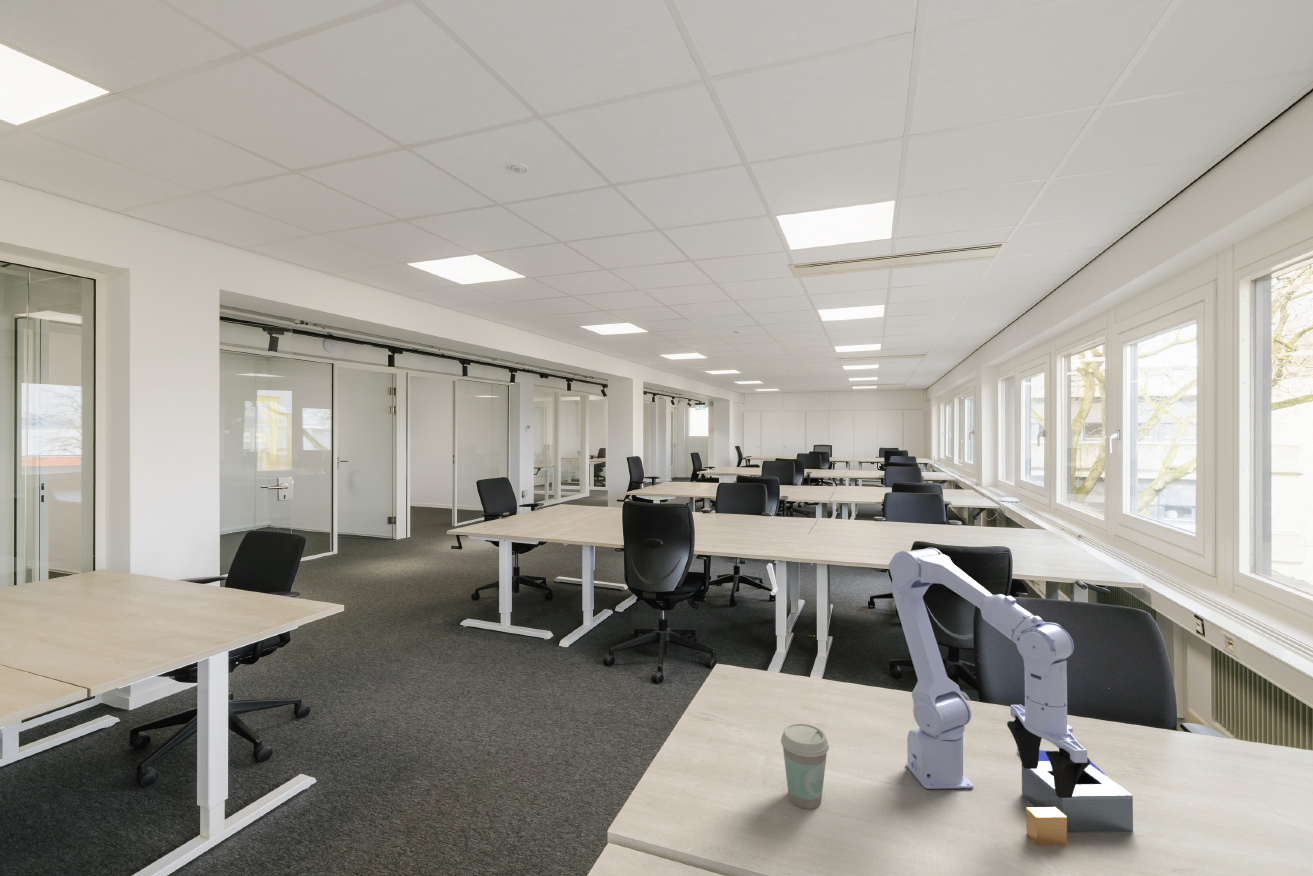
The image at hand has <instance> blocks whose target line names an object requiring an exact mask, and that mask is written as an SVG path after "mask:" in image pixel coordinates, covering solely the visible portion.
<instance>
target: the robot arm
mask: <svg viewBox="0 0 1313 876" xmlns="http://www.w3.org/2000/svg"><path fill="white" fill-rule="evenodd" d="M888 569H889V573H890V576H891V580H892V581H891V593H892V596H893V599H894V604H895V607H896V610H897V614H898V617H899V621H900V623H901V627H902V630H903V634H904V636H905V637H904V638H905V641H906V643H907V648H908V651H909V653H910V657H911V660H912V661H911V662H912V664H913V668H914V671H915V675H916V678H917V682H916V684H915V687H914V689H913V690H912V692H911V698H912V700H913V701H912V702H913V708H912V712H913V718H914V720H915V722H916V724H917V726H918V727H917V728H915V729H911V730H909V731H908V733H907V739H906V740H907V742H906V743H907V761H906V762H905V766H906V767H907V768H908V770H909V771H910V772H911V773H912V775H914V777H915V778H916V779H917V781H919V783H920V784H921V785H922V786H923V788H925V789H926V790H927V789H929V790H931V789H932V790H935V789H938V790H939V789H941V790H942V789H973V788H974V784H973V782H971V781H970V780H969V779H968V778H967V777H966V776H965V775H964V732H965V726H966V725H968V724H969V723H970V721H971V719H972V710H971V707H970V705H969V703H968V702H967V700H966V699H965V697H964V696H963V694H962V692H961V689H960V686H959V684H957V683H956V682H955V681H953V680H952V679H950V677H948V674H947V671H946V669H945V665H944V662H943V659H942V655H941V652H940V650H939V646H938V641H937V639H936V636H935V633H934V631H933V630H934V629H933V627H932V623H931V620H930V617H929V613H928V610H927V607H926V603H925V601H924V595H925V594H926V592H927V590H928V589H929V587H930V586H932V585H933V584H940V585H943V586H945V587H946V588H948V589H950V590H952V592H955V593H956V594H957V595H959V596H960V597H961V598H964V599H965V600H966V601H968V602H969V603H971V604H973V606H975V607H977V608H978V609H980V613H981V617H982V619H983V620H984V621H985V622H986V623H988V624H989V625H990V626H992V627H993V628H994V629H996V630H997V631H999V633H1001V634H1003V635H1004V636H1005V637H1006V638H1007V639H1009V640H1011V641H1012V642H1013V643H1014V644H1016V648H1017V651H1018V652H1019V654H1020V656H1021V657H1022V659H1023V667H1024V705H1022V704H1010V716H1011V717H1012V718H1014V719H1013V720H1009V721H1007V722H1006V726H1007V728H1008V729H1009V731H1010V732H1011V735H1012V737H1013V739H1014V741H1015V744H1016V747H1017V748H1018V751H1019V754H1018V755H1019V757H1020V762H1021V766H1022V765H1023V767H1024V768H1025V769H1037V766H1038V762H1039V750H1040V749H1041V748H1040V747H1041V742H1042V739H1044V740H1045V741H1047V742H1050V743H1051V744H1052V745H1054V746H1056V747H1057V748H1058V750H1045V751H1046V755H1047V757H1048V759H1049V761H1050V764H1051V767H1052V771H1053V776H1054V786H1055V792H1056V795H1057V796H1058V797H1059V798H1072V795H1073V792H1074V789H1075V786H1076V783H1077V781H1078V779H1079V777H1080V775H1081V774H1082V772H1083V771H1084V770H1085V769H1086V768H1087V767H1088V766H1089V765H1090V761H1091V760H1090V758H1089V757H1088V750H1087V749H1086V748H1085V747H1083V746H1082V745H1081V744H1080V743H1079V741H1078V740H1077V739H1076V738H1075V736H1074V735H1073V734H1072V733H1073V732H1074V728H1073V727H1072V726H1071V725H1069V724H1068V677H1067V676H1068V674H1067V673H1068V672H1067V671H1068V670H1067V669H1068V668H1067V667H1068V665H1067V663H1068V661H1067V658H1069V657H1070V656H1071V655H1073V652H1074V650H1075V645H1074V644H1075V643H1074V640H1073V638H1072V636H1071V635H1070V633H1069V632H1068V631H1067V630H1065V629H1064V628H1063V627H1062V625H1060V624H1059V623H1056V622H1051V621H1049V622H1048V621H1047V622H1046V621H1043V620H1044V619H1043V618H1041V617H1040V616H1039V615H1035V614H1033V613H1031V612H1030V611H1028V610H1027V609H1025V608H1023V606H1021V605H1019V604H1018V603H1017V599H1016V598H1014V597H1013V596H1012V595H1005V594H1002V593H1001V594H1000V593H998V594H992V593H991V592H990V591H989V590H987V589H986V588H985V587H984V586H982V585H981V584H980V583H978V582H977V581H976V580H974V579H973V578H972V577H971V576H969V575H968V574H967V573H966V572H964V571H963V570H962V569H961V568H960V567H958V566H957V565H955V563H953V561H952V560H951V557H950V556H948V555H946V554H943V552H941V550H939V549H938V548H936V547H935V548H934V547H926V548H923V549H914V550H902V551H898V552H896V553H895V554H894V555H893V557H892V558H891V560H890V561H889V563H888Z"/></svg>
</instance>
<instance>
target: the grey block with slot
mask: <svg viewBox="0 0 1313 876" xmlns="http://www.w3.org/2000/svg"><path fill="white" fill-rule="evenodd" d="M1104 774H1105V773H1104ZM1104 774H1102V773H1101V772H1100V771H1098V770H1097V769H1095V768H1094V767H1093V766H1091V765H1089V766H1088V767H1087V768H1086V769H1085V770H1084V771H1083V772H1082V774H1081V775H1080V777H1079V779H1078V781H1077V783H1076V786H1075V789H1074V792H1073V795H1072V798H1059V797H1058V796H1057V795H1056V792H1055V786H1054V776H1053V771H1052V767H1051V764H1050V761H1039V762H1038V766H1037V769H1025V768H1024V767H1023V765H1022V764H1021V794H1022V795H1023V797H1025V798H1026V800H1028V801H1029V802H1030V803H1031V804H1032V805H1033V806H1034V807H1056V808H1057V809H1058V810H1059V811H1061V812H1062V813H1063V814H1064V815H1065V816H1066V817H1067V833H1083V832H1084V833H1088V832H1090V833H1091V832H1092V833H1093V832H1094V833H1095V832H1133V831H1134V806H1133V805H1134V800H1133V799H1134V797H1133V794H1131V793H1130V792H1129V791H1128V790H1127V789H1125V788H1123V787H1122V786H1121V785H1119V784H1118V783H1116V782H1115V781H1113V779H1111V778H1109V777H1108V776H1107V775H1106V774H1105V775H1106V776H1105V775H1104Z"/></svg>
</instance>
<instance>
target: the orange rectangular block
mask: <svg viewBox="0 0 1313 876" xmlns="http://www.w3.org/2000/svg"><path fill="white" fill-rule="evenodd" d="M1025 808H1026V809H1025V810H1026V811H1025V814H1026V824H1025V825H1026V836H1028V838H1029V839H1030V840H1031V841H1032V842H1034V843H1035V844H1036V845H1037V846H1042V845H1043V846H1044V845H1045V846H1047V845H1048V846H1049V845H1051V846H1052V845H1053V846H1054V845H1056V846H1057V845H1059V846H1060V845H1067V844H1068V832H1067V817H1066V816H1065V815H1064V814H1063V813H1062V812H1061V811H1059V810H1058V809H1057V808H1056V807H1036V806H1034V807H1032V806H1031V807H1025Z"/></svg>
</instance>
